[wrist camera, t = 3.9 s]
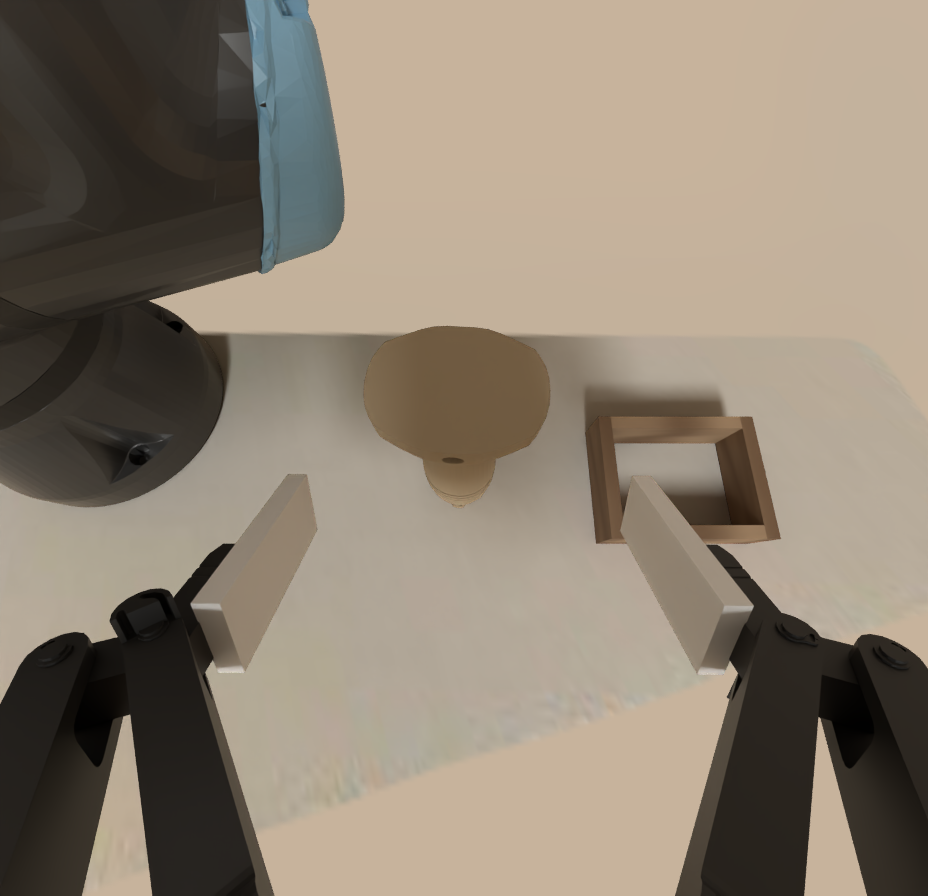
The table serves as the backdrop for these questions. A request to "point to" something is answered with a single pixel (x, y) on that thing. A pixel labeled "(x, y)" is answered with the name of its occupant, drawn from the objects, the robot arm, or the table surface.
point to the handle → (457, 403)
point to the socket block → (728, 433)
